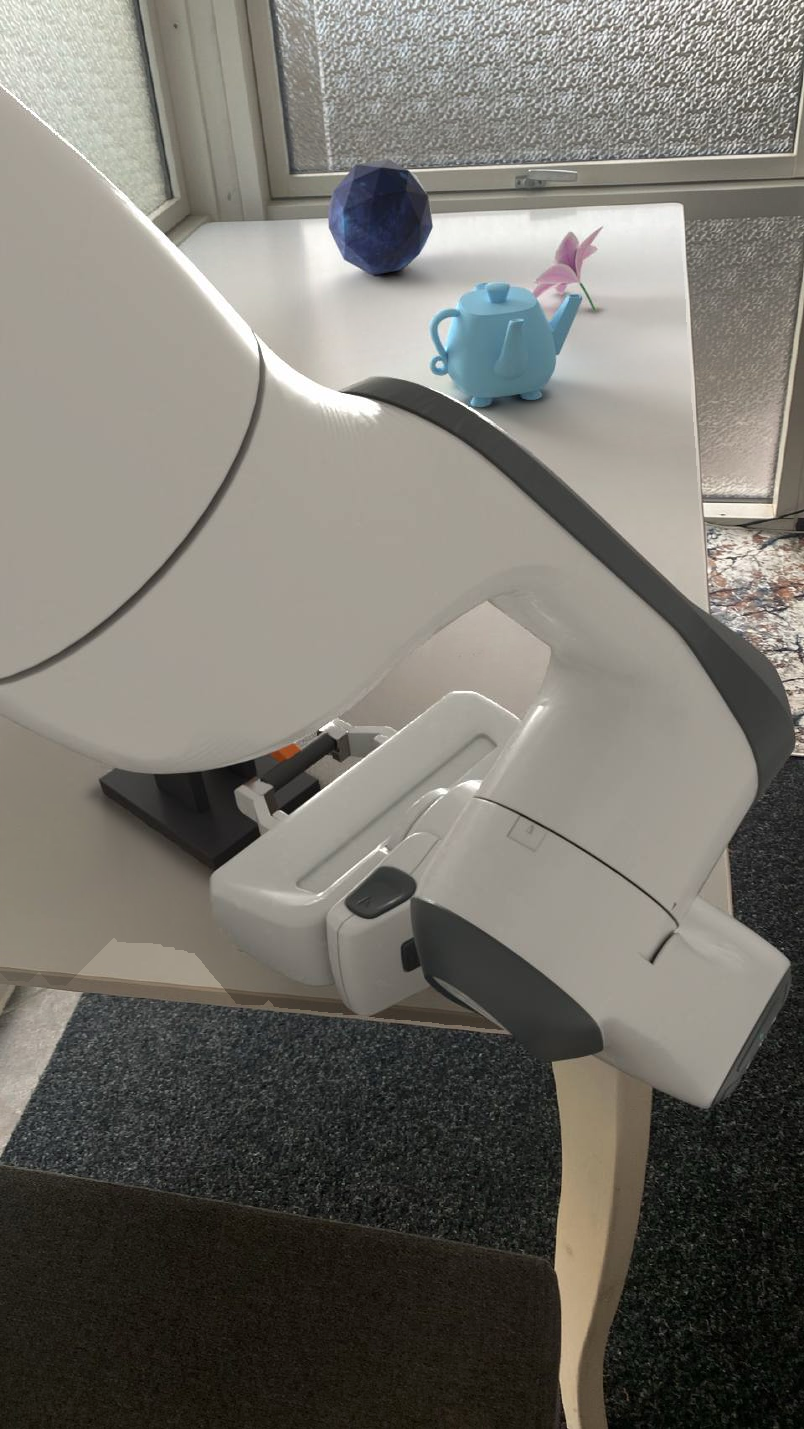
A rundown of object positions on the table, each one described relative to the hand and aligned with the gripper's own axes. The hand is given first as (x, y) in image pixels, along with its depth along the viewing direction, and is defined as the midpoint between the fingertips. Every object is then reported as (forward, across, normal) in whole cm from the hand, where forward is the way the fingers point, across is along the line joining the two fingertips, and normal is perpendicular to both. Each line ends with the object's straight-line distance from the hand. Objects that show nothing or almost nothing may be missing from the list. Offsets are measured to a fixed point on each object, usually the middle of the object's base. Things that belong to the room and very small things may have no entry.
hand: (286, 762), depth 64 cm
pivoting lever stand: (+9, 0, +8) cm, 12 cm away
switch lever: (+5, 0, -1) cm, 5 cm away
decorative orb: (+76, -88, +9) cm, 117 cm away
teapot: (+34, -63, +8) cm, 72 cm away
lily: (+44, -88, +8) cm, 99 cm away
